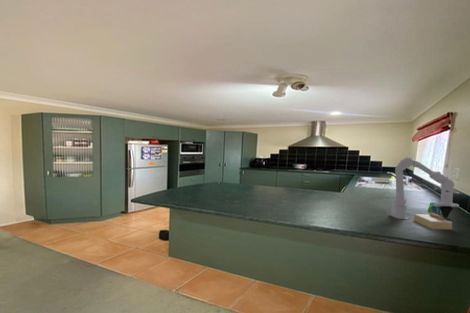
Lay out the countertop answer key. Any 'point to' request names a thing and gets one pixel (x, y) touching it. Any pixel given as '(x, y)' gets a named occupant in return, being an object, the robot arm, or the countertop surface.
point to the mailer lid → (433, 218)
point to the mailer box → (433, 223)
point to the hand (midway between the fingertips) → (445, 217)
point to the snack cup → (435, 210)
